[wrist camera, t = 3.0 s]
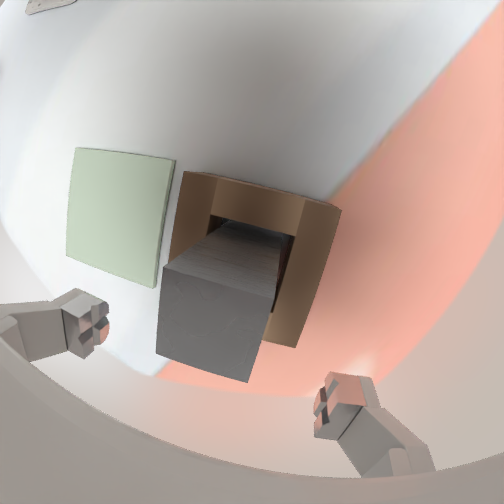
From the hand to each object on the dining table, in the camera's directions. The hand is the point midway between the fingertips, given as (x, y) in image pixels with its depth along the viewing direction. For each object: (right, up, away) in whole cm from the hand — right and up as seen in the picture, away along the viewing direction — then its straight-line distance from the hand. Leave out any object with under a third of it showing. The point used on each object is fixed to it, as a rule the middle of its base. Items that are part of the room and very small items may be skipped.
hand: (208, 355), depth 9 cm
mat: (-11, +7, +13) cm, 19 cm away
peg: (+1, +4, +13) cm, 13 cm away
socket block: (+1, +4, +13) cm, 13 cm away
